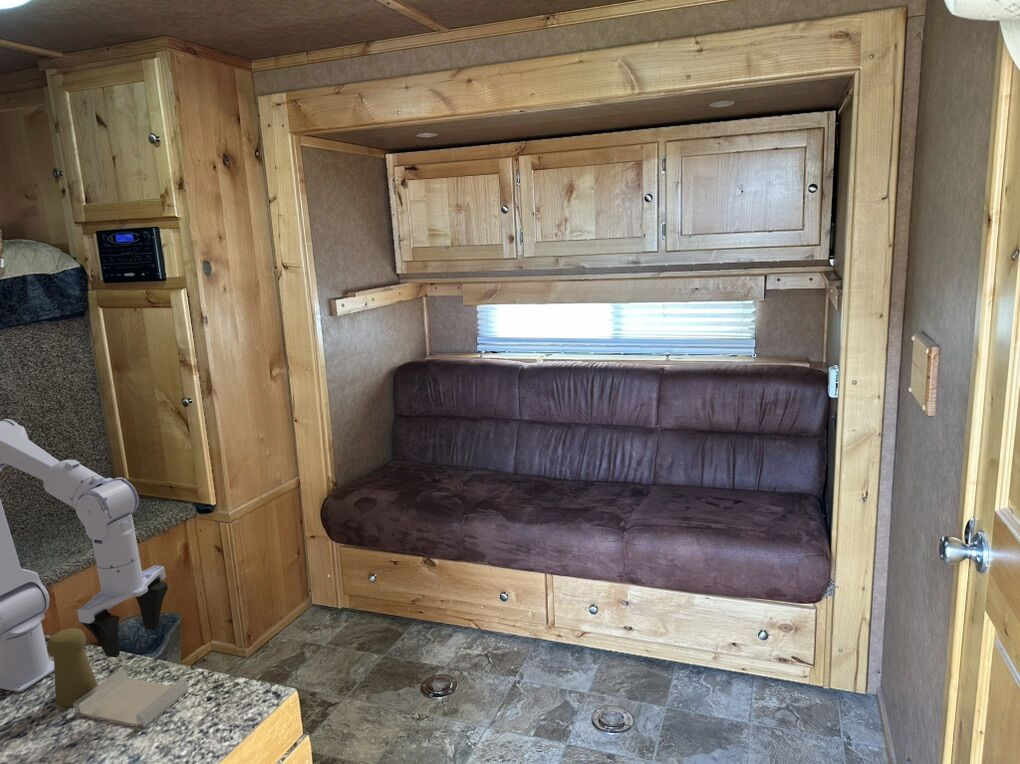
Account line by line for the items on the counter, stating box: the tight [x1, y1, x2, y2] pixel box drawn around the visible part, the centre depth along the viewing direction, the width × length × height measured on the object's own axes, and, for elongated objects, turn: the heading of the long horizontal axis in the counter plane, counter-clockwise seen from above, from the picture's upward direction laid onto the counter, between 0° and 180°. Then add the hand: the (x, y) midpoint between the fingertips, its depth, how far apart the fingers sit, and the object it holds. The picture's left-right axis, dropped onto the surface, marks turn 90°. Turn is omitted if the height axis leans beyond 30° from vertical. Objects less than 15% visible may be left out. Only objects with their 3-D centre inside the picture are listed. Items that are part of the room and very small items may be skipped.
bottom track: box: [72, 669, 190, 729], centre depth 113 cm, size 14×9×2 cm, turn 71°
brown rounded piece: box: [46, 627, 99, 708], centre depth 115 cm, size 6×6×11 cm
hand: (133, 641), depth 112 cm, fingers open, 7 cm apart
